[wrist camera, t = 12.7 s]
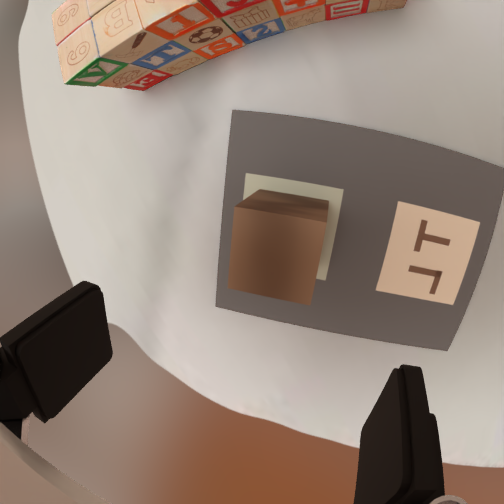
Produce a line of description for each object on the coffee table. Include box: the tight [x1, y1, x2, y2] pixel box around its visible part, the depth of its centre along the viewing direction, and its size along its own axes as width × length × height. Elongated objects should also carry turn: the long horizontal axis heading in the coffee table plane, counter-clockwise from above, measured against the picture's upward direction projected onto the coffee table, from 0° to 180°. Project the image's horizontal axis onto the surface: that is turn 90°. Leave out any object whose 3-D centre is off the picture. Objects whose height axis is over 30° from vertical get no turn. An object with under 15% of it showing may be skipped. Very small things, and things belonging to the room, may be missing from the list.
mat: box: [216, 110, 504, 351], centre depth 22 cm, size 21×16×1 cm
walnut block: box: [228, 189, 329, 305], centre depth 20 cm, size 5×5×6 cm
